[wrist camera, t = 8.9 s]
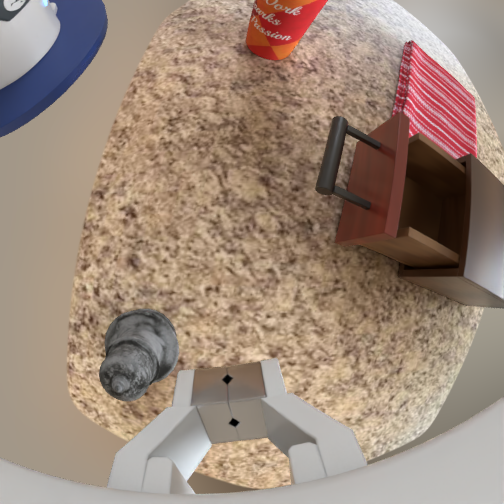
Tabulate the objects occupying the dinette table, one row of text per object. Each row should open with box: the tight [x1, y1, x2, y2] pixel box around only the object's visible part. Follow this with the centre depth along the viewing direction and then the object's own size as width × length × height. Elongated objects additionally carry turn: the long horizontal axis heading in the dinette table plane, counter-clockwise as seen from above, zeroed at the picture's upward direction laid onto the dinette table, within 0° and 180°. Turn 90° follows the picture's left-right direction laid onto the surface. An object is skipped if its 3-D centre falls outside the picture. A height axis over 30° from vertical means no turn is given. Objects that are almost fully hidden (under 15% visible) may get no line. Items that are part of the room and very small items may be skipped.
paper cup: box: [246, 0, 328, 60], centre depth 21 cm, size 8×8×14 cm
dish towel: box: [392, 41, 477, 159], centre depth 32 cm, size 17×24×3 cm
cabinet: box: [398, 153, 504, 308], centre depth 27 cm, size 15×13×10 cm
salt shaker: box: [99, 309, 179, 401], centre depth 18 cm, size 6×6×12 cm
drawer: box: [315, 112, 466, 270], centre depth 25 cm, size 18×11×8 cm, turn 72°
